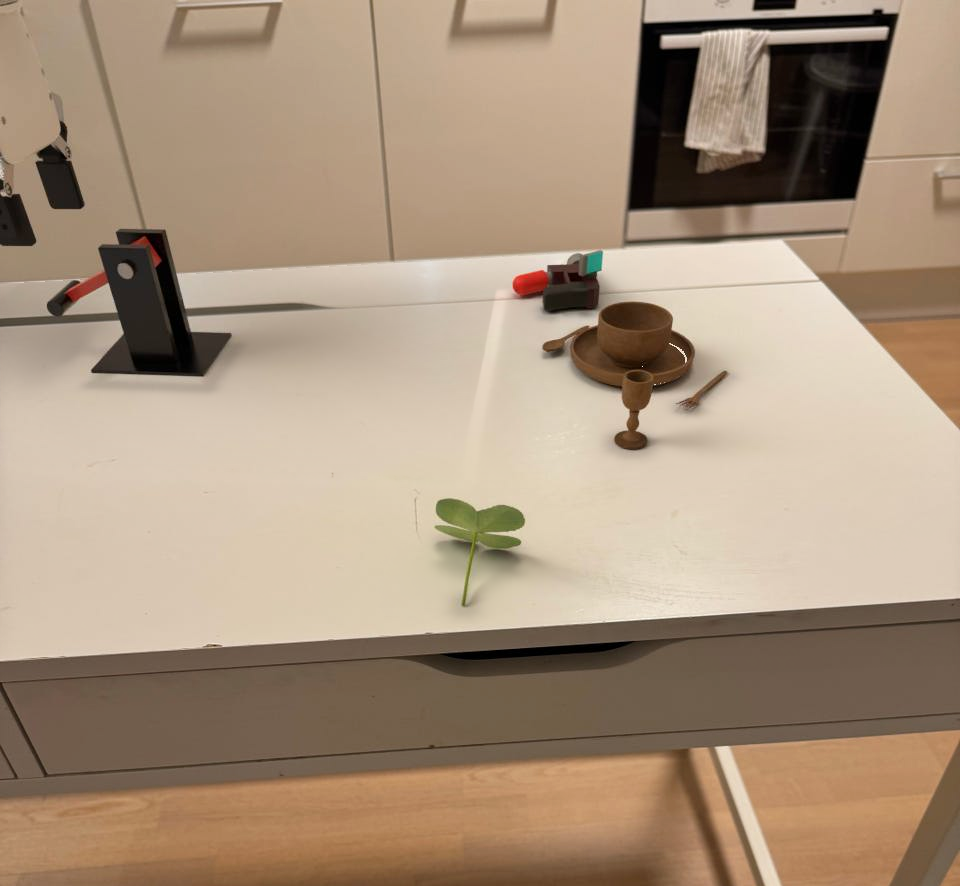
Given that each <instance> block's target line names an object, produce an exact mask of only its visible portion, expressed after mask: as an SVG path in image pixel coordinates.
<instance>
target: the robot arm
mask: <svg viewBox="0 0 960 886" xmlns="http://www.w3.org/2000/svg"><path fill="white" fill-rule="evenodd" d="M20 10H22V5H21V3H20V0H0V246H2V247H33V246H34V245H35V244H37V238H36V235H35V232H34V229H33V227H32V224H31V222H30V219H29V218H30V217H29V216H28V213H27V210H26V208H25V204H24V202H23V199H22V197H21V194H20V193H14V170H15V169H14V166H15V165H16V164H19V163H21V162H23V161H25V160H27V159H29V158H30V157H32V156H34V155H36V157H37V158H38V159H39V160H36V161H35V162H34V164H35V166H36V169H37V172H38V176H39V179H40V181H41V184H42V186H43V190H44V192H45V195H46V199H47V201H48V204H49V207H50V208H51V209H53V210H81V209H83V208H84V207H85V206H86V203H85V201H84V197H83V194H82V190H81V187H80V185H79V181H78V177H77V174H76V172H75V171H76V170H75V168H74V165H73V162H72V160H71V159H72V156H73V154H72V149H71V147H70V146H69V144H68V132H69V131H68V127H67V125H66V123H65V117H64V105H63V100H62V98H61V96H59V95H58V94H57V93H55V92H53V91H51V88H50V85H49V82H48V80H47V76H46V74H45V71H44V68H43V65H42V62H41V60H40V57H39V55H38V52H37V49H36V47H35V44H34V42H33V39H32V36H31V34H30V32H29V30H28V27H27V25H26V22H25V20H24V17H23V16H22V14H21V11H20Z"/></svg>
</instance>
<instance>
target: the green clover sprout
mask: <svg viewBox="0 0 960 886" xmlns="http://www.w3.org/2000/svg"><path fill="white" fill-rule="evenodd" d="M435 514H436V516H437V518H438V519H440V520H442V521H443V522H445V523H446V524H449V525H445V524H444V525H443V524H439V525H438V524H437V525H434V529H435V530H437V531H438V532H441V533H443V534H445V535H448V536H450V537H453V538H456V539H459V540H463V541H468V542H471V544H472V545H471V549H470V554H469V560H468V564H467V569H466V573H465V578H464V579H465V580H464V585H463V586H464V588H463V592H462V594H463V595H462V599H461V606H462V607H463V606H465V604H466V600H467V594H468V586H469V579H470V573H471V569H472V565H473V559H474V553H475V547H476V543H480V544H482V546H485V547H488V548H492V549H504V550H506V549H507V550H508V549H511V548H515V547H519V546H521V544H522V540H521V539H520V538H518V537H514V536H511V535H504V534H496V533H509V532H516V531H517V530H520V529H522V528H523V527H524V526H525V524H526V518H525V516H524V514H523V512H522V511H521V510H520V509H518V508H516V507H514V506H511V505H506V504H497V505H492V506H491V507H488V508H485V509H483V508H482V509H480V510H476V508H475V507H474V506H473V505H471V504H470V503H468V502H465V501H464V500H461V499H458V498H457V499H456V498H452V497H451V498H448V497H447V498H441V499H439V500H437V502H436V505H435Z"/></svg>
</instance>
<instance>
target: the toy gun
mask: <svg viewBox="0 0 960 886" xmlns="http://www.w3.org/2000/svg"><path fill="white" fill-rule="evenodd" d="M603 256H604V250H602V249H599V250H595V251H591V252H588V253H581V252H576V253H573V254H571V255H570V256H568V258H567V260H566V264H565V263H564V264H547V267H546V271H545V270H544V269H540V270H536V271H531V272H527V273H522V274H519V275H517V276H515V277H514V279H513V281H512V289H513V291H514V293H516V294H517V295H518V296H524V295H529V294H533V293H536V292H537V293H538V292H541V291H542V301H541V302H542V306H543V310H544V311H546V312H549V311H556V310H563V309H569V308H586V309H593V308H596V307H598V306H599V302H600V301H599V300H600V288H601V286H600V283H599V280H598V278H597V277H598V273H599V272H601V271H602V270H603V269H602V268H603V258H604V257H603Z"/></svg>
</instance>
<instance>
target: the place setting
mask: <svg viewBox="0 0 960 886" xmlns="http://www.w3.org/2000/svg"><path fill="white" fill-rule="evenodd" d="M673 321H674V317H673V315H672V313H671V312H670V311H669V310H668V309H666V308H664V307H663V306H661V305H657V304H655V303H650V302H644V301H620V302H615V303H612V304H611V303H610V304H608V305H607V306H604V308H602V309H601V310H600V311H599V313H598V318H597V325H594V326H590V325H584V326H582V327H579V328H577V329H575V330H574V331H572V332H570V333H568V334H567V335H565V336H563V337H560V338H558V339H552V340H547V341H544V343H543V344H542V347H541V348H542V351H544V352H547V353H553V352H557V351H559V350H562V349H563V348H564V346H565V344H566V341H568V340H569V339H571V338H572V339H571V341H570V345H569V353H570V358H571V360H572V362H573V364H574V365H575V367H576V368H577V369H578V370H579V371H580V372H582V373H583V374H584V375H585V376H588V377H589V378H591V379H592V380H595V381H598V382H600V383H603V384H606V385H610V386H614V387H621V401H622V404H623V406H624V408H626V409H627V410H628V414H629V415H628V418H627V421H626V423H625V424H626V428H627V430H622V431H619V432H617V433H616V434H615V435H614V443H615V444H616V445H617V446H619V447H620V448H623V449H627V450H638V449H641V448H644V447H645V446H646V445H647V443H648V437H647V436H646V434H644V433H642V432H640V431H637V430H638V428H639V426H640V420H639V415H640V411H642V410H645V409H646V408H647V407H648V405H649V404H650V401H651V397H652V393H653V387H656V386H660V385H664V384H668V383H670V382H673V381H675V380H677V379H679V378H680V377H682V376H683V375H685V374H686V372H688V371H689V370H690V368H691V366H692V365H693V362H694V359H695V356H696V349H695V346H694V344H693V342H691V341H690V339H689V338H687V337H686V336H685V335H683V334H681V333H680V332H677V331H676V330H673ZM669 343H671V344H673V345H675V346H677V347H679V348H680V349H682V351H684V353H685V355H686V357H687V362H686V363H685V357H684V355H683V354H682V353H681V352H680V351H679V350H678V349H677V348H676V347H674V346H672V345H670V344H669ZM642 366H643V367H642ZM727 373H728V371H727V370H723V371H721V372H720V373H719V374H717V375H716V376H715V377H713V378H712V379H711V380H710V381H709V382H708V383H706V384H705V385H704V386H702V388H701V389H699V390H698V391H697V392H696V393H694V395H692V396H690V397H687V398H685V399H683V400H681V401H678V402H679V403H678V402H676V403H675V405H678V406H679V407H680V406H682V407H683V408H684V406H685V405H686V406H685V407H686V408H687V409H689V408H694V407H695V406H697V405H699V404H700V399H699V398H700V397H701V396H702V395H703V394H704V393H706V391H708V390H710V388H712V387H713V386H714V385H715V384H717V383H718V382H719V381H720V380H721V379H722V378H724V377H725V376H726V374H727ZM681 375H682V376H681ZM679 376H680V377H679ZM677 377H678V378H677ZM673 379H674V380H673ZM671 380H672V381H671ZM668 381H669V382H668ZM664 382H665V383H664ZM660 383H661V384H660ZM654 384H656V385H654ZM677 403H678V404H677ZM681 404H682V405H681ZM688 406H690V407H689V408H688Z"/></svg>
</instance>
